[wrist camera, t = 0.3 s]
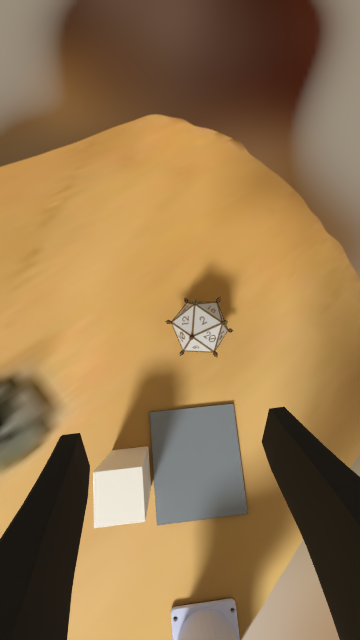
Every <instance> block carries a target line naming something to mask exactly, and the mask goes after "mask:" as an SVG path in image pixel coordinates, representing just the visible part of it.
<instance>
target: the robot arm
mask: <svg viewBox="0 0 360 640" xmlns="http://www.w3.org/2000/svg"><path fill="white" fill-rule="evenodd" d="M262 444H263V447H264V450H265V453H266V456H267V459H268V462H269V465H270V467H271V470H272V472H273V474H274V477H275V479H276V481H277V483H278V485H279V487H280V490H281V492H282V494H283V496H284V498H285V500H286V502H287V504H288V507H289V509H290V511H291V513H292V515H293V517H294V519H295V521H296V524H297V526H298V528H299V530H300V532H301V534H302V537H303V539H304V541H305V544H306V546H307V549H308V551H309V554H310V557H311V559H312V562H313V565H314V567H315V570H316V573H317V575H318V578H319V581H320V584H321V586H322V589H323V592H324V595H325V598H326V601H327V603H328V606H329V609H330V612H331V615H332V617H333V620H334V624H335V626H336V630H337V632H338V636H339V639H340V640H360V477H359V476H358V475H357V474H356V473H354V472H353V471H352V470H351V469H350V468H349V467H347V466H346V465H345V464H344V463H343V462H342V461H341V460H340V459H338V458H337V457H336V456H335V455H334V454H333V453H332V452H331V451H330V450H329V449H327V448H326V447H325V446H324V445H323V444H322V443H321V442H320V441H319V440H318V439H317V438H316V437H315V436H314V435H313V434H312V433H310V432H309V431H308V430H307V429H306V428H305V427H304V426H303V425H302V424H301V423H300V422H299V421H298V420H297V419H296V418H295V417H294V416H293V415H292V414H291V413H290V412H289V411H288V410H287V409H286V408H285V407H279V408H272V409H269V412H268V417H267V421H266V426H265V430H264V434H263V439H262ZM89 473H90V465H89V462H88V458H87V455H86V452H85V448H84V445H83V442H82V438H81V435H80V433H76V434H68V435H62V436H61V437H60V438H59V440H58V442H57V444H56V446H55V448H54V450H53V452H52V454H51V456H50V458H49V460H48V461H47V463H46V465H45V467H44V469H43V471H42V472H41V474H40V476H39V478H38V479H37V481H36V483H35V484H34V486H33V488H32V489H31V491H30V493H29V495H28V496H27V498H26V500H25V501H24V503H23V505H22V506H21V508H20V509H19V511H18V512H17V514H16V516H15V517H14V519H13V520H12V522H11V523H10V525H9V526H8V528H7V529H6V531H5V533H4V534H3V536H2V537H1V539H0V640H67V633H68V623H69V613H70V603H71V593H72V586H73V579H74V572H75V567H76V561H77V555H78V550H79V544H80V538H81V533H82V527H83V521H84V516H85V510H86V504H87V498H88V487H89ZM231 608H234V609H233V610H230V609H231ZM175 616H176V617H177V619H174V617H175ZM171 622H172V636H173V640H240V637H239V628H238V620H237V611H236V604H235V601H234V599H232V598H230V599H223V600H217V601H210V602H203V603H196V604H190V605H183V606H176V607H173V608H172V609H171Z"/></svg>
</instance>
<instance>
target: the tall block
mask: <svg viewBox="0 0 360 640" xmlns="http://www.w3.org/2000/svg"><path fill="white" fill-rule="evenodd" d="M150 489H151V480H150V463H149V447H148V446H146V447H137V448H128V449H119V450H112V451H111V452H110V453H109V454H108V455H107V457H106V458H105V459H104V460H103V461H102V462H101V464H100V465H99V466H98V467H97V468H96V470H95V471H94V472H93V495H94V528H99V527H107V526H115V525H123V524H130V523H138V522H145V520H146V514H147V508H148V501H149V495H150Z"/></svg>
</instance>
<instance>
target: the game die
mask: <svg viewBox="0 0 360 640" xmlns="http://www.w3.org/2000/svg"><path fill="white" fill-rule="evenodd" d="M220 298H221V297H219V298H217V299H216V302H196V300H195V299H193V300H192V302H188V299H186V298H185V300H184V301H185V302H186V304H185V306H184V307H183V308H182V309H181V311H180V312H179V313H178V314H177V315H176V317H175V318H174V319H173V320H172V321H170V320H167V321H165V322H166V323H167V324H172V326H173V328H174V331H175V333H176V335H177V338H178V340H179V342H180V345H181V347H182V349H183V350H182V351H181V352H180V356H181V355H183V354H184V351H192V352H213V355H214V356H215V357H217V355H218V354H217V352H215V350H216V349H217V347H218V346H219V344H220V343H221V341H222V339H223V338H224V336H225V335H226V333H227V331H228V332H230V333H231V332H232V331H233V330H232V329H228V328H227V325H226V324H227V321H226V320H224V318H223V315H222V312H221V310H220V307H219V305H218V302H220Z"/></svg>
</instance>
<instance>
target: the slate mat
mask: <svg viewBox="0 0 360 640" xmlns="http://www.w3.org/2000/svg"><path fill="white" fill-rule="evenodd" d="M150 425H151V441H152V456H153V472H154V487H155V503H156V518H157V525H164V524H172V523H180V522H188V521H195V520H203V519H211V518H219V517H227V516H234V515H242V514H248V512H247V504H246V496H245V489H244V481H243V474H242V466H241V458H240V451H239V443H238V436H237V428H236V420H235V413H234V405H233V404H224V405H214V406H204V407H194V408H185V409H175V410H165V411H155V412H150Z"/></svg>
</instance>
